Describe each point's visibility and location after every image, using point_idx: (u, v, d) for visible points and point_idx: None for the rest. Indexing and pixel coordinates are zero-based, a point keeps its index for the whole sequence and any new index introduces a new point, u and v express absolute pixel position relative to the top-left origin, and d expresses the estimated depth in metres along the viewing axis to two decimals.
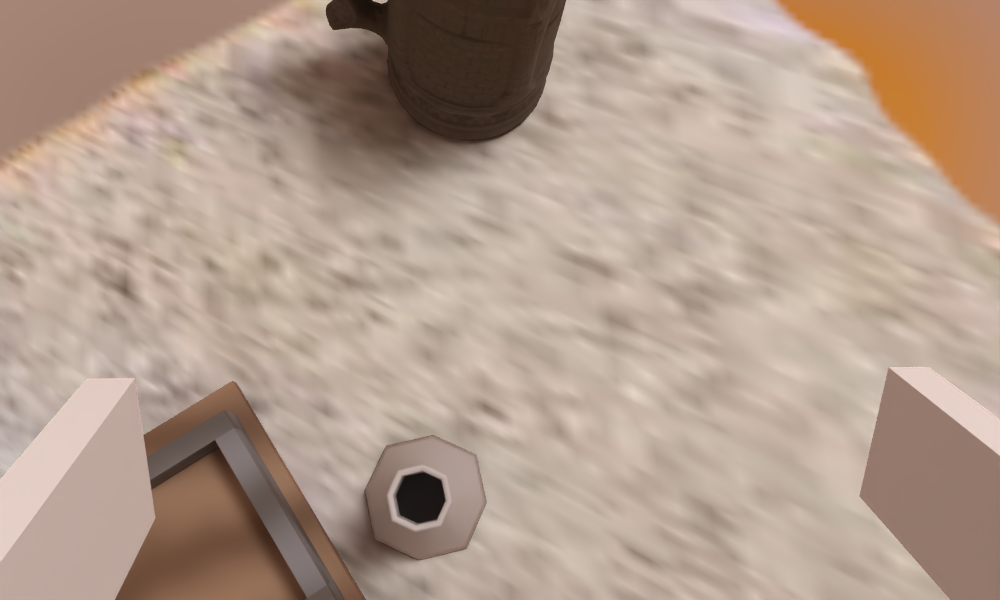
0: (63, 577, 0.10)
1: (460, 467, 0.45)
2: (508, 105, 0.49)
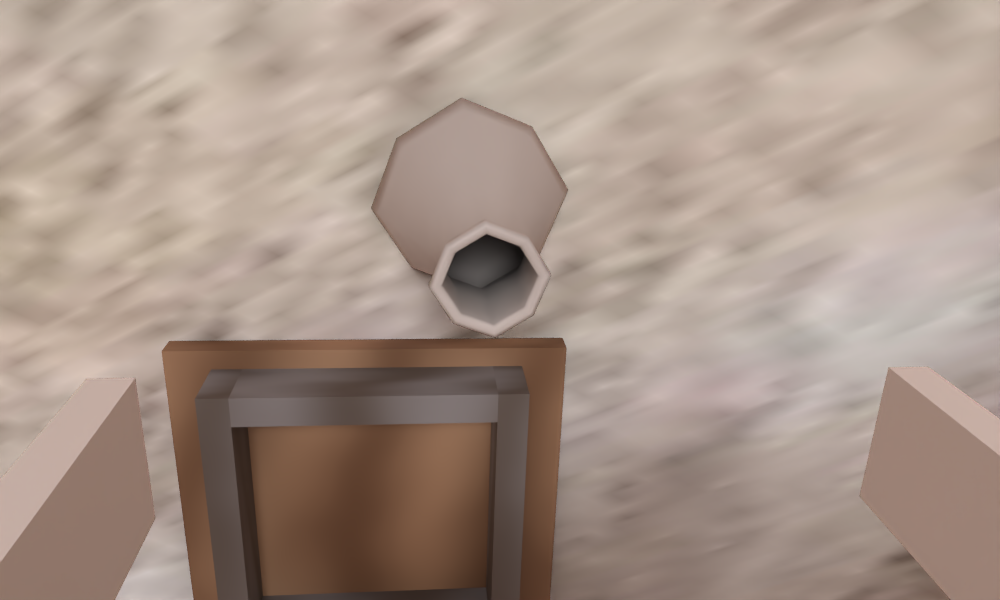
0: (63, 577, 0.10)
1: (470, 148, 0.27)
2: None
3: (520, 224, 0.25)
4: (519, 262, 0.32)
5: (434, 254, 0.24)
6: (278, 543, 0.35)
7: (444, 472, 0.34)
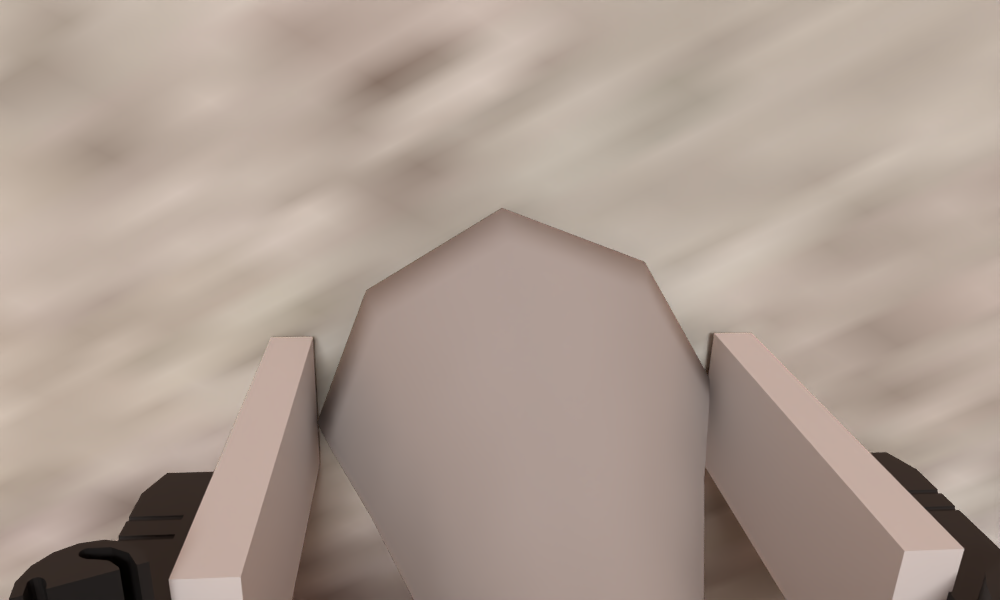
0: (290, 497, 0.12)
1: (534, 353, 0.11)
2: None
3: None
4: None
5: None
6: None
7: None
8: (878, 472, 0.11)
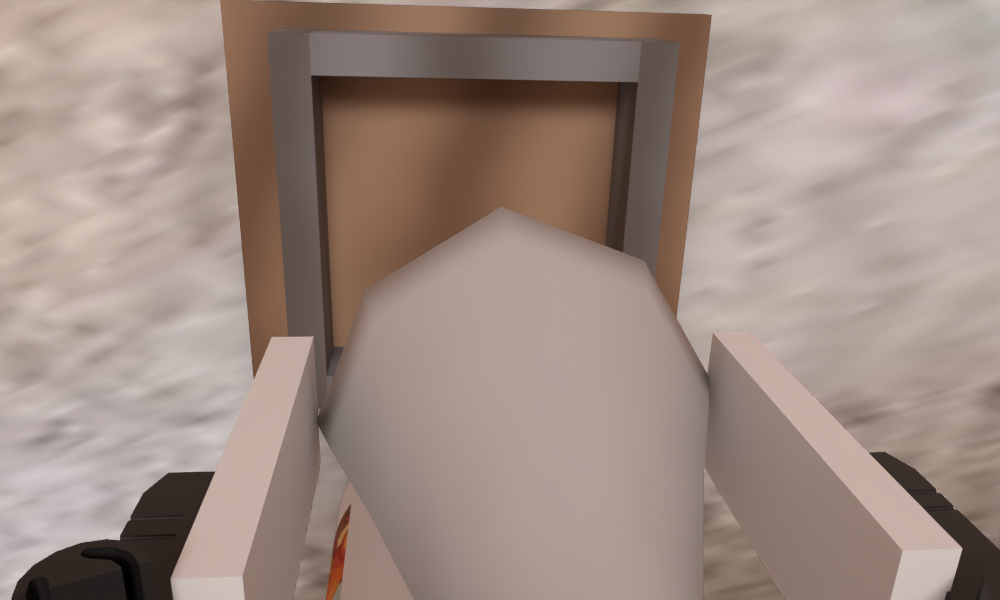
0: (291, 497, 0.12)
1: (533, 352, 0.11)
2: None
3: None
4: None
5: None
6: (354, 275, 0.29)
7: (556, 184, 0.28)
8: (876, 472, 0.11)
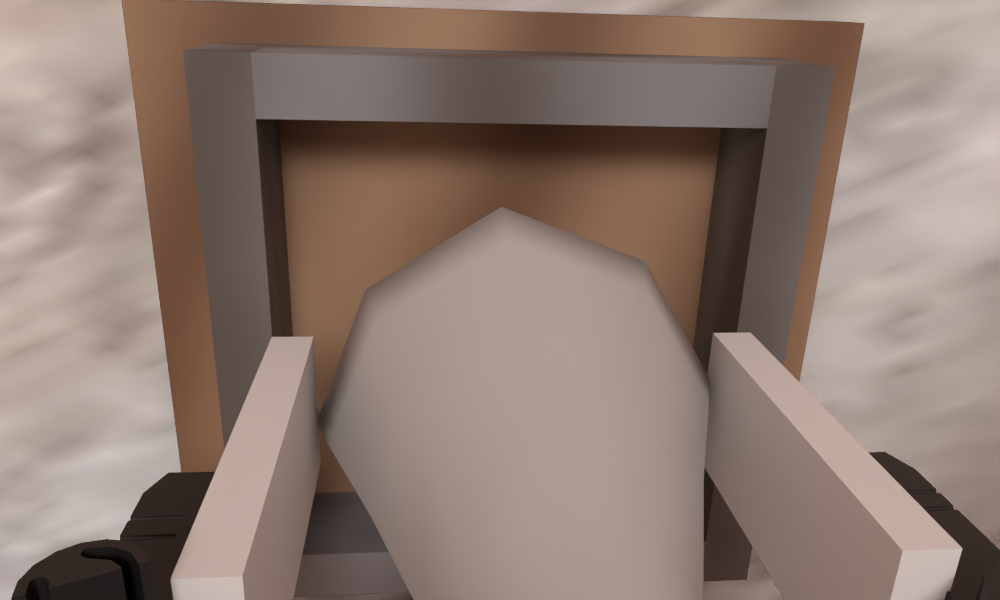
0: (291, 497, 0.12)
1: (533, 352, 0.11)
2: None
3: None
4: None
5: None
6: None
7: None
8: (876, 471, 0.11)
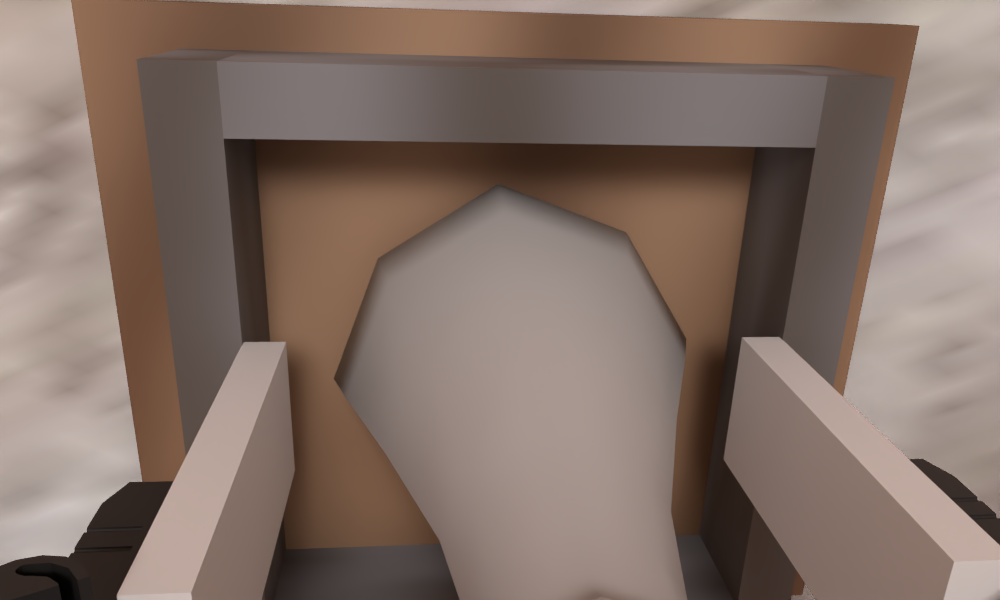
0: (256, 507, 0.12)
1: (526, 305, 0.13)
2: None
3: (653, 513, 0.11)
4: None
5: (458, 585, 0.11)
6: (317, 444, 0.18)
7: None
8: (920, 480, 0.11)
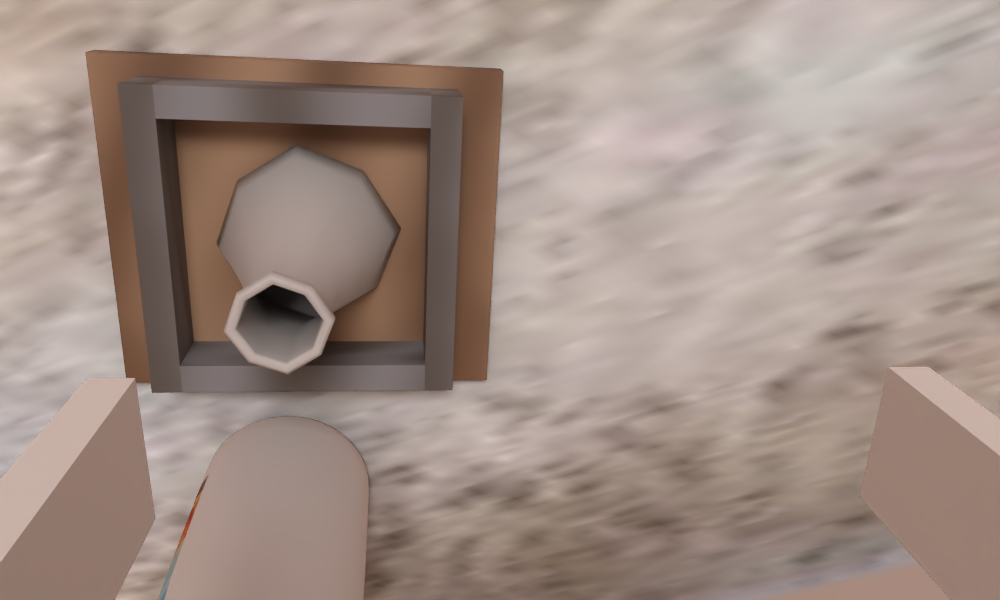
0: (63, 577, 0.10)
1: (291, 195, 0.30)
2: None
3: (323, 269, 0.27)
4: None
5: None
6: (209, 281, 0.34)
7: None
8: None
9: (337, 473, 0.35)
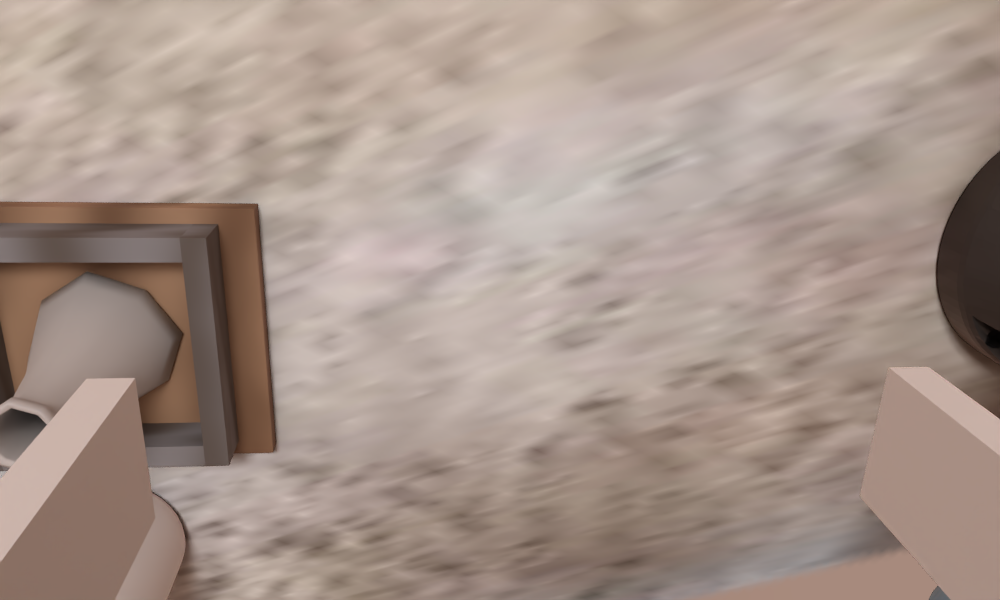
0: (63, 577, 0.10)
1: (67, 320, 0.37)
2: None
3: (75, 386, 0.35)
4: None
5: None
6: None
7: None
8: None
9: None
